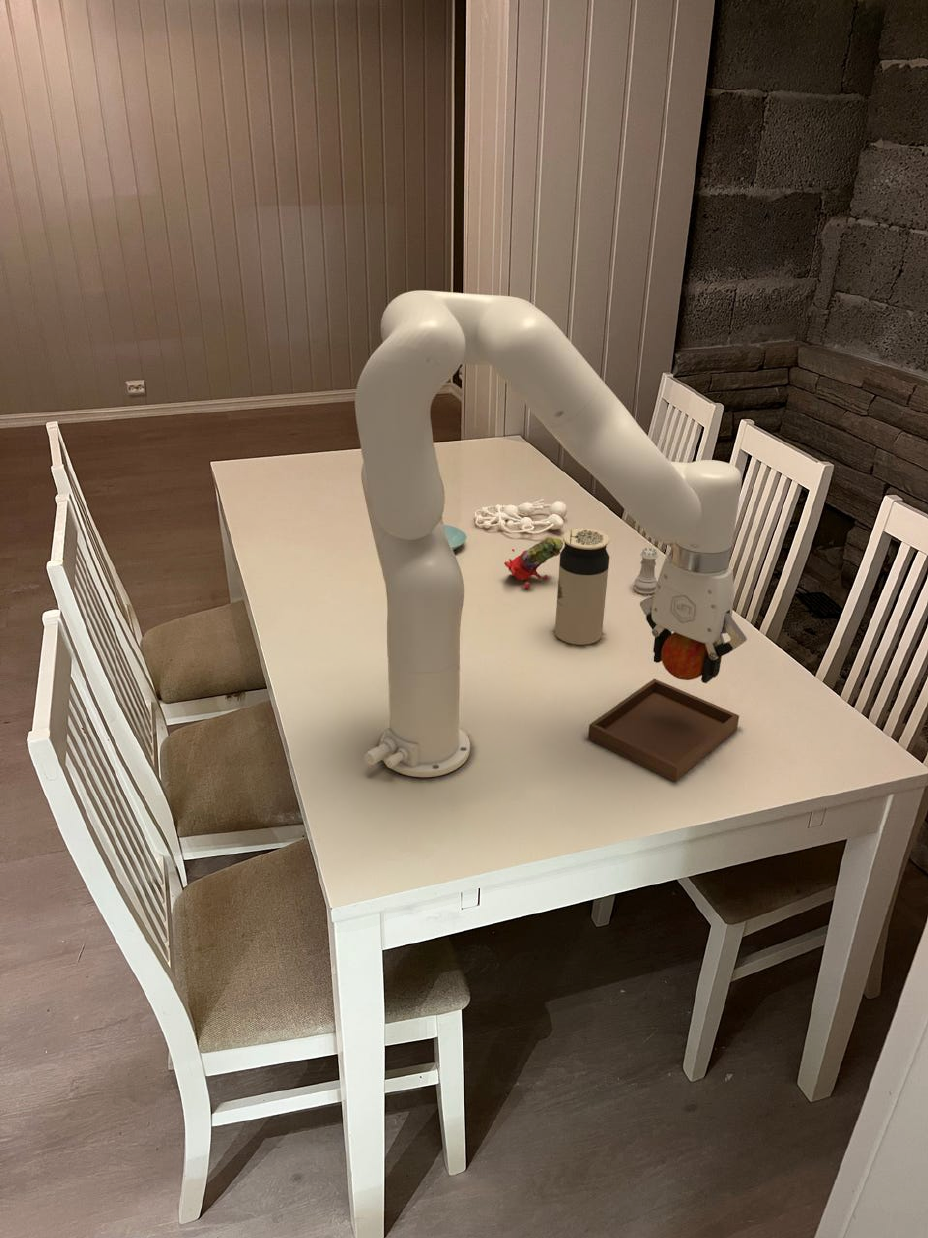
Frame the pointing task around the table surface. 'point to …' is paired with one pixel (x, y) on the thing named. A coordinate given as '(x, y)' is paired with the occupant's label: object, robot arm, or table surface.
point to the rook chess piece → (646, 573)
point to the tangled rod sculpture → (525, 523)
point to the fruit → (683, 656)
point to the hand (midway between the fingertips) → (684, 667)
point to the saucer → (454, 536)
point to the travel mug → (582, 586)
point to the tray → (663, 729)
